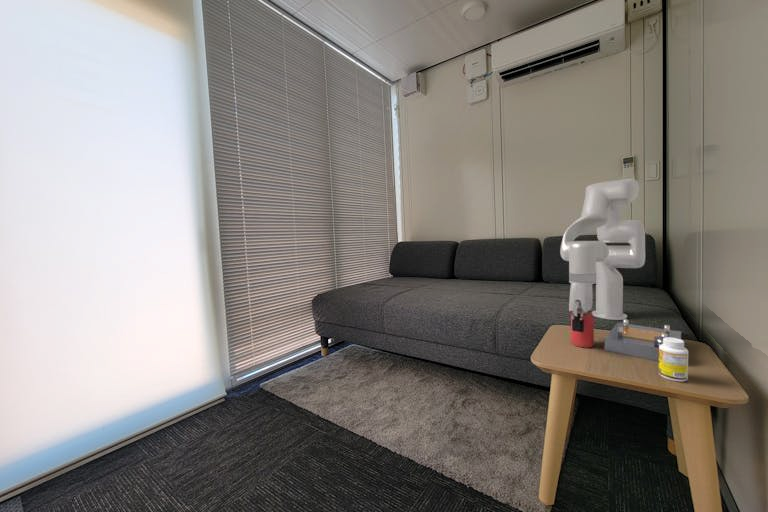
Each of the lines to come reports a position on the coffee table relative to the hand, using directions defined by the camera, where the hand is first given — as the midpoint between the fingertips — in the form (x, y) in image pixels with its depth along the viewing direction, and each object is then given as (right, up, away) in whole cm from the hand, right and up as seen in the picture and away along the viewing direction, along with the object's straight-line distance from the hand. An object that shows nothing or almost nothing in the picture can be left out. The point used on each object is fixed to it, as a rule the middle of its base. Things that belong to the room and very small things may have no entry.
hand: (581, 327), depth 102 cm
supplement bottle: (+8, -8, -24) cm, 26 cm away
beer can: (+1, -6, +1) cm, 6 cm away
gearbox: (+19, -5, -2) cm, 20 cm away
